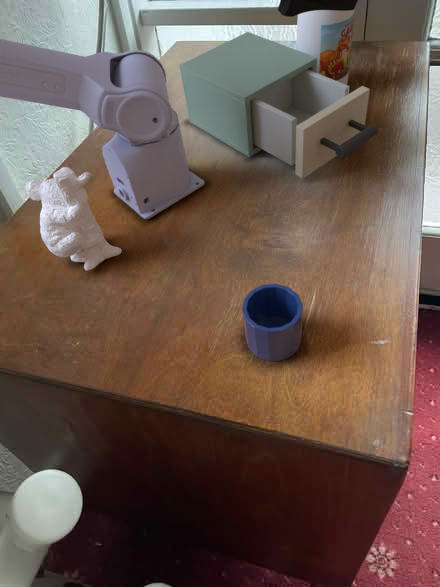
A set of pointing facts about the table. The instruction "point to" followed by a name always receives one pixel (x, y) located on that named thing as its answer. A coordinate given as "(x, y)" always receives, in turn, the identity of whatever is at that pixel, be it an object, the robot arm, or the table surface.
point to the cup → (273, 321)
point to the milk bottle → (327, 41)
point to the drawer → (310, 121)
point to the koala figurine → (70, 219)
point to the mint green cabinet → (237, 85)
